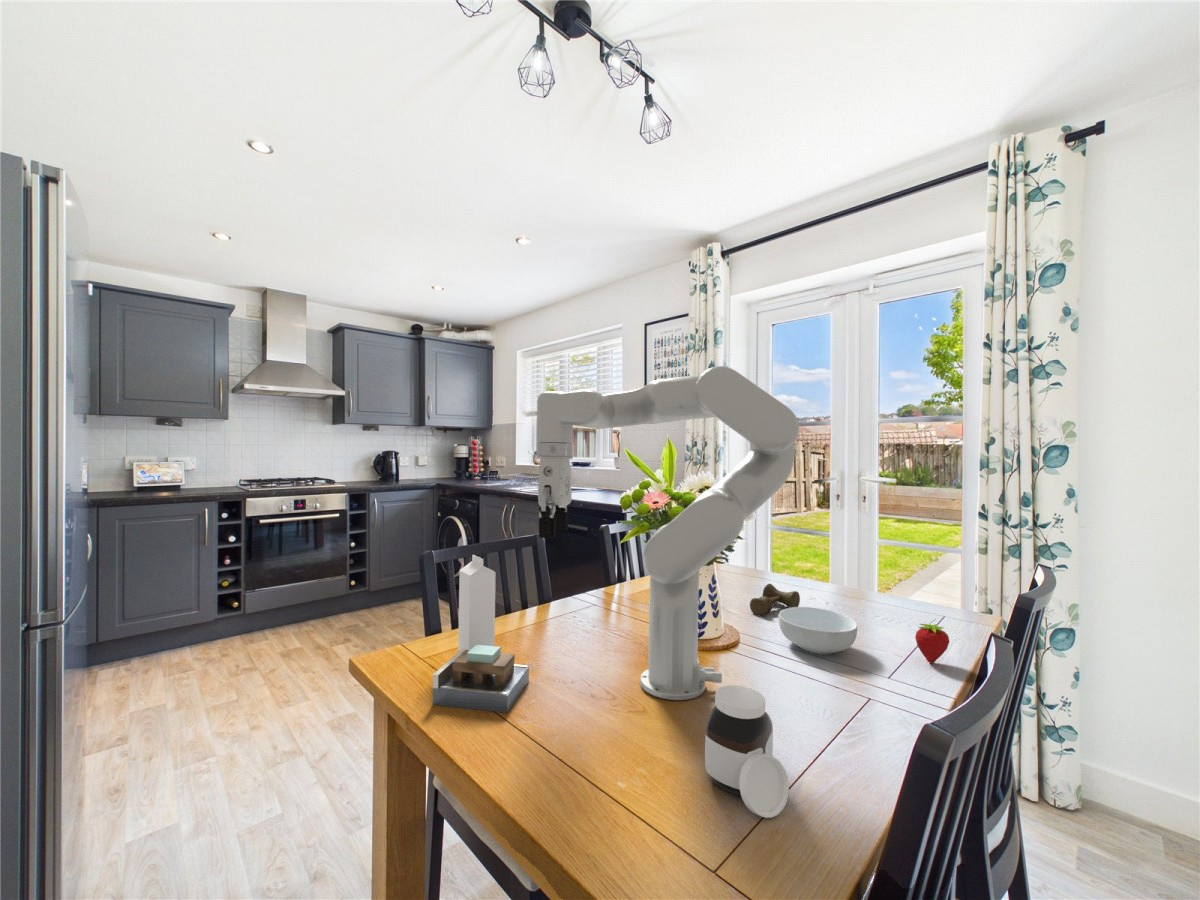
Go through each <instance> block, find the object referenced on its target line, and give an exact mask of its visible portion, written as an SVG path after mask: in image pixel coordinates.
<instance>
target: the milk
mask: <svg viewBox="0 0 1200 900" xmlns="http://www.w3.org/2000/svg"><path fill="white" fill-rule="evenodd" d="M496 574H497V573H496V571H495V570H492V569H491V568H488V567H486V566H484V558H481V557H480V556H477V555H475V554H472V556H471V561H470V562H468V563H467V564H466V565H465V566H463V567H462V568H460V569H459V577H458V578H459V580H458V581H459V583H458V584H459V585H458V586H459V587H458V588H459V589H458V594H459V595H458V645H457V647H458V649H457V651H458V652H459V651H460V650H461V649H462V648H467V650H471V649H472V648H473V647H474V646H475V645H485V646H495V639H496V638H495V637H496V636H495V635H496V632H495V631H496V630H495V629H496V623H495V622H496ZM458 652H457V653H458Z"/></svg>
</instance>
